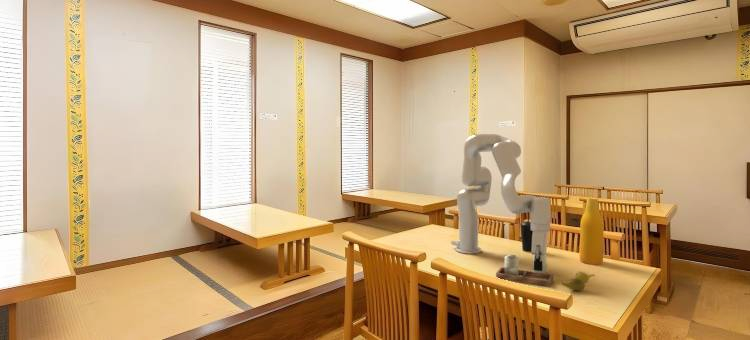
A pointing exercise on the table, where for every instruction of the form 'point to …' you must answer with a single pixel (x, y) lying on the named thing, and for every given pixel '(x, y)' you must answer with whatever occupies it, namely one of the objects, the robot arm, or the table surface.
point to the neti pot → (577, 281)
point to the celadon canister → (544, 263)
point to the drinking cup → (526, 235)
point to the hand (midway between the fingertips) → (539, 267)
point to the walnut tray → (522, 273)
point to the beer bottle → (591, 234)
